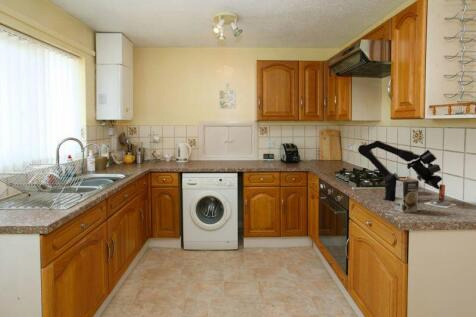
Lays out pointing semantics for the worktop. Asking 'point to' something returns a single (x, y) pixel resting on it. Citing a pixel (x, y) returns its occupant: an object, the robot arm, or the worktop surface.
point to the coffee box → (406, 195)
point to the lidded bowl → (408, 178)
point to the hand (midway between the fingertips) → (438, 188)
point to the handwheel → (441, 197)
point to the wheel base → (440, 205)
